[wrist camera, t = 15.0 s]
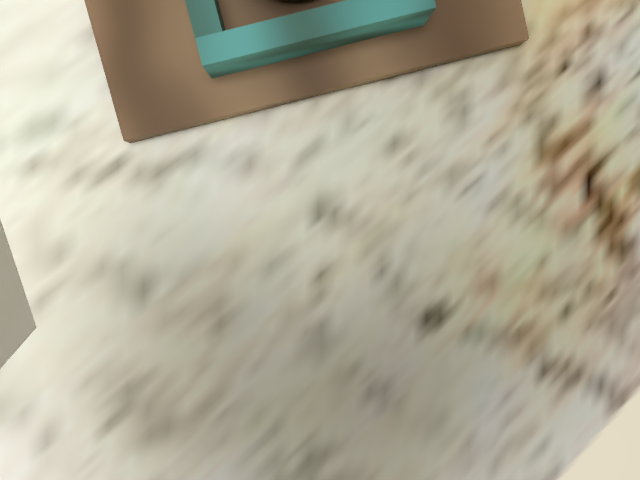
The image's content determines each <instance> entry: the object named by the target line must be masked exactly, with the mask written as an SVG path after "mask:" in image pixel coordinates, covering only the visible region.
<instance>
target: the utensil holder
mask: <svg viewBox="0 0 640 480" xmlns="http://www.w3.org/2000/svg"><path fill="white" fill-rule="evenodd" d="M281 1H287V2H300V1H306V0H281Z"/></svg>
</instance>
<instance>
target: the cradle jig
mask: <svg viewBox="0 0 640 480" xmlns="http://www.w3.org/2000/svg"><path fill="white" fill-rule="evenodd" d="M85 4H86V7H87V11H88V14H89V18H90V21H91V25H92V29H93V32H94V36H95V39H96V43H97V46H98V50H99V54H100V57H101V61H102V64H103V68H104V72H105V75H106V79H107V82H108V86H109V89H110V93H111V97H112V100H113V104H114V107H115V111H116V115H117V118H118V122H119V125H120V129H121V132H122V136H123V140H124V141H126V142H129V143H132V142H136V141H140V140H144V139H148V138H152V137H156V136H160V135H163V134H167V133H171V132H175V131H179V130H183V129H187V128H191V127H195V126H199V125H203V124H207V123H211V122H215V121H219V120H223V119H227V118H231V117H235V116H239V115H243V114H247V113H251V112H255V111H259V110H262V109H266V108H270V107H274V106H278V105H282V104H286V103H290V102H294V101H298V100H302V99H306V98H310V97H314V96H318V95H322V94H326V93H330V92H334V91H338V90H342V89H346V88H350V87H354V86H358V85H361V84H365V83H369V82H373V81H377V80H381V79H385V78H389V77H393V76H397V75H401V74H405V73H409V72H413V71H417V70H421V69H425V68H429V67H433V66H437V65H441V64H445V63H449V62H453V61H456V60H460V59H464V58H468V57H472V56H476V55H480V54H484V53H488V52H492V51H496V50H500V49H504V48H508V47H512V46H516V45H520V44H522V43H523V42H525V41H526V40H528V39H529V36H528V31H527V27H526V22H525V18H524V13H523V8H522V4H521V0H306V1H300V2H287V1H281V0H85Z"/></svg>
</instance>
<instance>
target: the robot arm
mask: <svg viewBox="0 0 640 480" xmlns="http://www.w3.org/2000/svg"><path fill="white" fill-rule="evenodd" d="M35 328H36V325H35V322H34V319H33V316H32V313H31V310H30V307H29V304H28V301H27V298H26V295H25V292H24V289H23V286H22V283H21V280H20V277H19V274H18V271H17V268H16V265H15V262H14V259H13V256H12V253H11V250H10V247H9V244H8V241H7V238H6V235H5V232H4V229H3V226H2V223H1V220H0V368H1V367H2V366H3V365H4V364H5V363H6V361H7V360H8V359H9V358H10V357H11V356H12V355H13V354H14V352H15V351H16V350H17V349H18V348H19V347H20V346H21V344H22V343H23V342H24V341H25V340H26V339H27V338H28V336H29V335H30V334H31V333H32V332H33V331H34V330H35Z"/></svg>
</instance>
